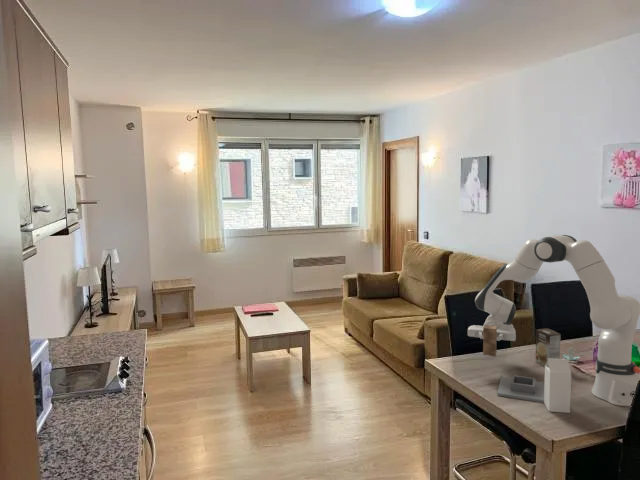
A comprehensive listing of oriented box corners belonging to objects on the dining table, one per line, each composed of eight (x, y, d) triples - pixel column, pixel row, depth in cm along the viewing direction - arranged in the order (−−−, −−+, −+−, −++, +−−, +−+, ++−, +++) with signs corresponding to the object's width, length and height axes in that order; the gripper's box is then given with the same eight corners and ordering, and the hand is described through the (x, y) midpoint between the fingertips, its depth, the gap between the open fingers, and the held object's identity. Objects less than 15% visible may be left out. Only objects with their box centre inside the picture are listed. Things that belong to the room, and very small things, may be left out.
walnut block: (496, 352, 205) (496, 325, 204) (495, 356, 201) (495, 329, 199) (484, 351, 207) (484, 324, 206) (483, 354, 203) (483, 327, 202)
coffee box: (534, 362, 220) (535, 329, 218) (546, 360, 221) (547, 327, 219) (548, 369, 211) (549, 334, 209) (560, 367, 212) (561, 333, 210)
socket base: (547, 385, 194) (547, 375, 194) (547, 403, 178) (547, 393, 178) (501, 378, 202) (501, 369, 202) (497, 395, 186) (497, 385, 186)
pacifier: (577, 364, 216) (580, 360, 220) (577, 351, 215) (580, 347, 220) (560, 361, 221) (563, 357, 225) (560, 348, 220) (563, 344, 224)
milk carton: (570, 413, 170) (571, 363, 168) (549, 411, 172) (550, 362, 169) (564, 404, 177) (565, 356, 175) (543, 403, 178) (545, 355, 176)
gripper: (469, 320, 219) (464, 328, 207) (516, 324, 210) (515, 333, 198) (469, 333, 220) (464, 342, 207) (516, 338, 211) (514, 348, 198)
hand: (489, 338), depth 202 cm, fingers closed on walnut block, 5 cm apart
